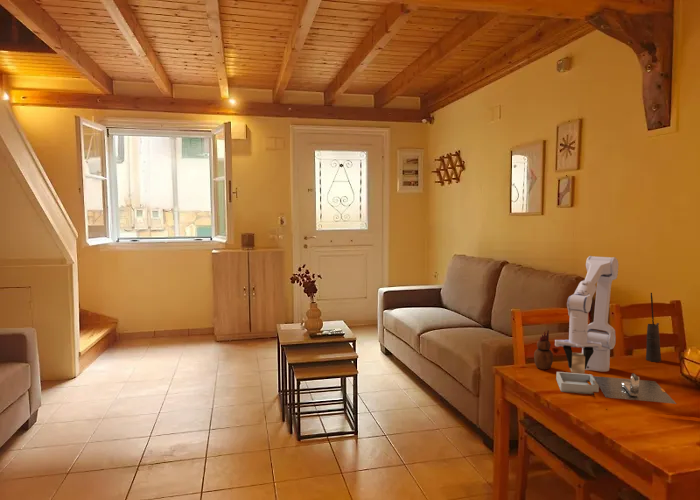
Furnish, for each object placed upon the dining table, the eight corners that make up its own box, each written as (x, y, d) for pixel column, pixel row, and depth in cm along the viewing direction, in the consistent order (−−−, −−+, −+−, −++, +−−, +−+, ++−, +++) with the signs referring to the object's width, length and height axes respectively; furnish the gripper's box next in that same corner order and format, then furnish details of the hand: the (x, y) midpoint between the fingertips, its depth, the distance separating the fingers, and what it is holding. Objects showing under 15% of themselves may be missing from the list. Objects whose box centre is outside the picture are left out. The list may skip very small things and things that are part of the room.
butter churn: (658, 355, 198) (661, 290, 195) (674, 363, 188) (677, 294, 186) (636, 356, 198) (639, 290, 195) (651, 363, 188) (654, 294, 186)
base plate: (605, 400, 153) (605, 396, 153) (592, 378, 172) (592, 375, 172) (676, 406, 148) (676, 403, 148) (654, 383, 167) (654, 380, 167)
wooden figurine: (549, 365, 187) (550, 328, 186) (554, 370, 181) (555, 332, 180) (532, 365, 188) (532, 328, 186) (536, 370, 182) (537, 332, 181)
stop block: (571, 372, 163) (572, 355, 162) (569, 369, 167) (570, 352, 166) (584, 373, 162) (585, 356, 161) (582, 370, 165) (582, 353, 165)
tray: (561, 391, 161) (561, 383, 161) (556, 379, 172) (556, 371, 172) (598, 394, 158) (598, 386, 157) (591, 382, 169) (591, 374, 168)
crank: (619, 384, 163) (620, 364, 163) (631, 384, 162) (632, 365, 162) (629, 397, 152) (630, 376, 151) (642, 398, 151) (643, 377, 150)
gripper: (557, 330, 161) (556, 369, 162) (604, 333, 157) (602, 373, 158) (554, 326, 168) (553, 363, 169) (599, 328, 164) (598, 366, 165)
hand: (577, 367), depth 164 cm, fingers closed on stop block, 4 cm apart
